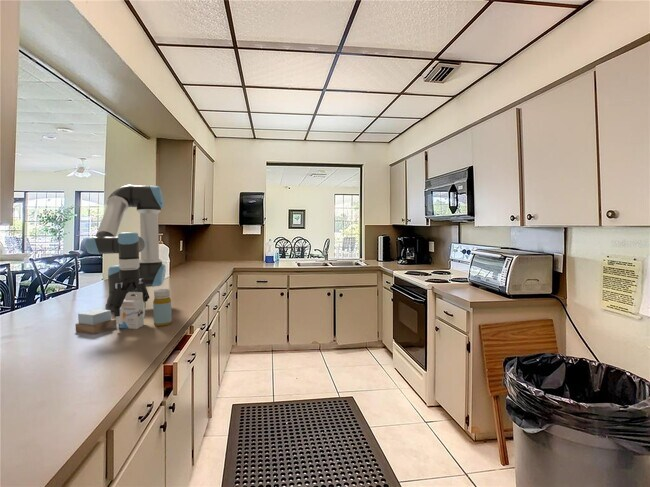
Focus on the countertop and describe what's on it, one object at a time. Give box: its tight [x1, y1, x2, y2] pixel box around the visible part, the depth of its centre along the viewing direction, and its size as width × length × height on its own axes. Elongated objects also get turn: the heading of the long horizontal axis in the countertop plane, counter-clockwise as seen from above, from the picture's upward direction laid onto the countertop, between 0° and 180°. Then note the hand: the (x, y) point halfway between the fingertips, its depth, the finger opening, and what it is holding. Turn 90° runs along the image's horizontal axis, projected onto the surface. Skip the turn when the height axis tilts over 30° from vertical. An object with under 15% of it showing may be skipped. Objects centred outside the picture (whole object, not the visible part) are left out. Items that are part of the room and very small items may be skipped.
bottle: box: [152, 288, 172, 327], centre depth 149 cm, size 7×7×15 cm
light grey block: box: [77, 308, 112, 325], centre depth 141 cm, size 8×8×4 cm
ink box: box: [118, 292, 145, 330], centre depth 144 cm, size 8×5×15 cm, turn 86°
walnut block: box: [75, 318, 118, 336], centre depth 141 cm, size 10×10×4 cm
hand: (131, 319), depth 145 cm, fingers open, 11 cm apart
